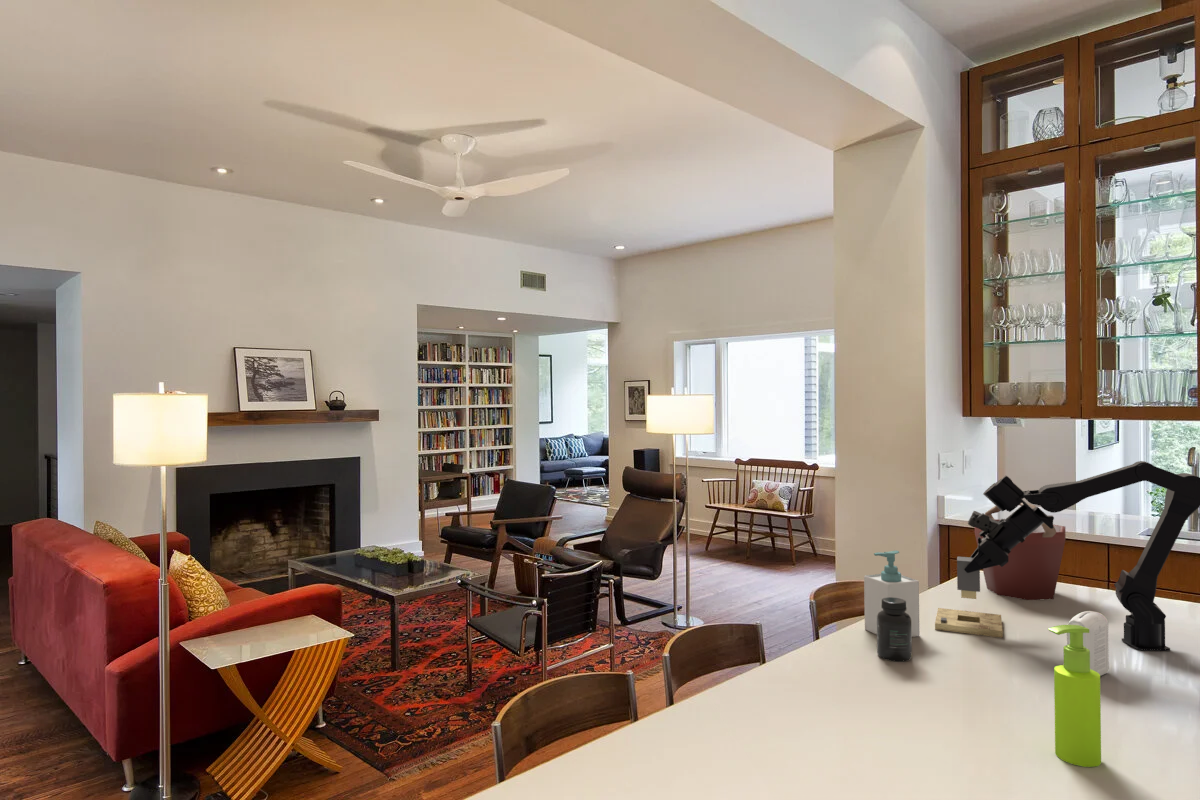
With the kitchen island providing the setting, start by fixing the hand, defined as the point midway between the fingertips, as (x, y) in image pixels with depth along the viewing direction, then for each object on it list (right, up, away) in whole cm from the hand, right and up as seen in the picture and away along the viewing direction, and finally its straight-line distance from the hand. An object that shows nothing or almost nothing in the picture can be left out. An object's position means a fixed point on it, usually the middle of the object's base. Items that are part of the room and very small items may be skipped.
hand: (965, 569), depth 176 cm
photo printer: (+8, -14, -32) cm, 36 cm away
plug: (+1, -7, 0) cm, 7 cm away
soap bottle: (-20, -14, -5) cm, 25 cm away
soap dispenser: (-16, -14, -64) cm, 68 cm away
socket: (+1, -14, 0) cm, 14 cm away
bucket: (+31, -13, +29) cm, 45 cm away
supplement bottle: (-25, -14, -20) cm, 35 cm away
